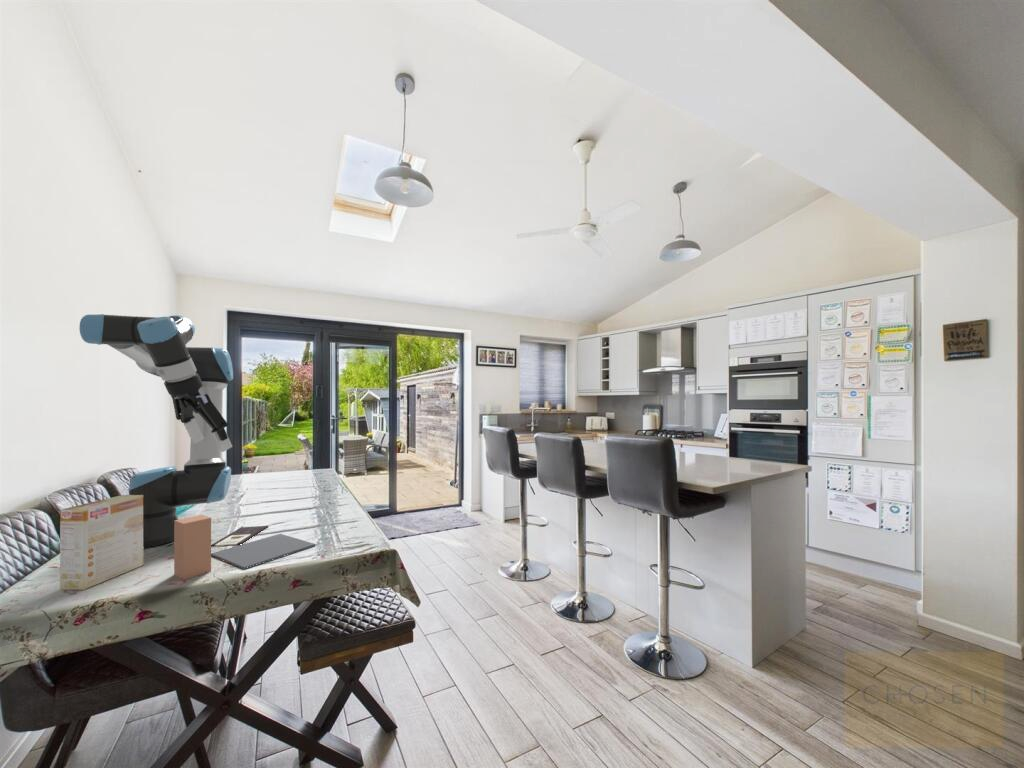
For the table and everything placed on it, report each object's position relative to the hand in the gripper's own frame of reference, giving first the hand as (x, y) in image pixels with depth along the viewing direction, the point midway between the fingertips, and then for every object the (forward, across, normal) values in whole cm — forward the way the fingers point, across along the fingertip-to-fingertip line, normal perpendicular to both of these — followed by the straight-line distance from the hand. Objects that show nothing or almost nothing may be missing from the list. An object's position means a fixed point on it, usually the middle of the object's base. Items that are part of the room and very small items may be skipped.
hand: (212, 445), depth 117 cm
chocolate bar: (+39, -10, 0) cm, 40 cm away
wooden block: (+26, +8, -20) cm, 33 cm away
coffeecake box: (+24, -11, -31) cm, 40 cm away
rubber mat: (+33, +10, -4) cm, 35 cm away
